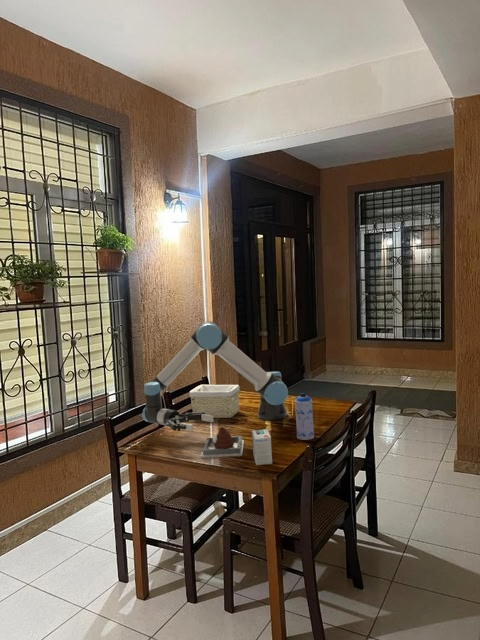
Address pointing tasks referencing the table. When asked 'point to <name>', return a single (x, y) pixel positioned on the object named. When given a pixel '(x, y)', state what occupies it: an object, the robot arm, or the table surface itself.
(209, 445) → the mousse holder
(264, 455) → the light bulb box
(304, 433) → the aerosol can
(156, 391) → the robot arm
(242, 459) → the table surface
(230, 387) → the storage basket
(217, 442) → the poop emoji
